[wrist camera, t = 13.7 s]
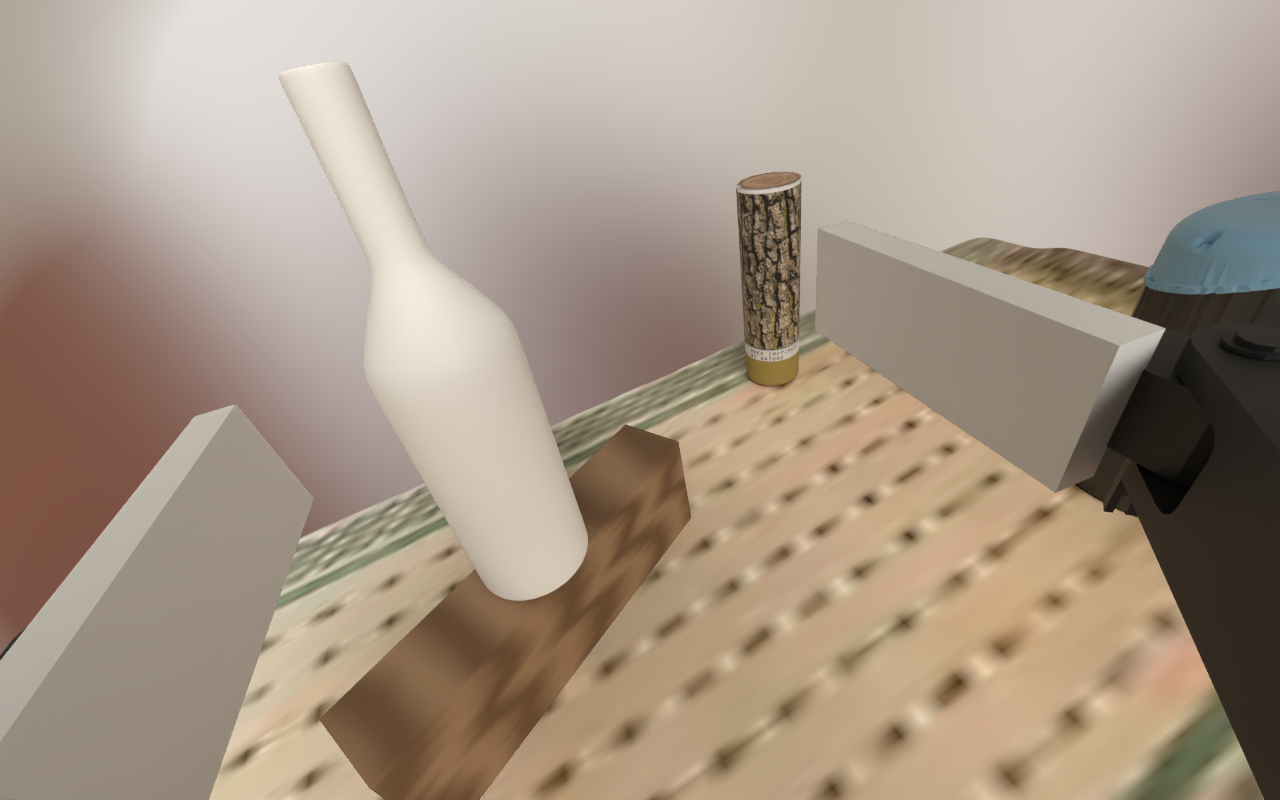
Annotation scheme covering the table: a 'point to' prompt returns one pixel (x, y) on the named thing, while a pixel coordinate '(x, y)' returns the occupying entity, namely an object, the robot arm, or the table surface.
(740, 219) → the paper tube
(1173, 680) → the table surface
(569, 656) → the wooden block
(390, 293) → the bottle
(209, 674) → the robot arm
